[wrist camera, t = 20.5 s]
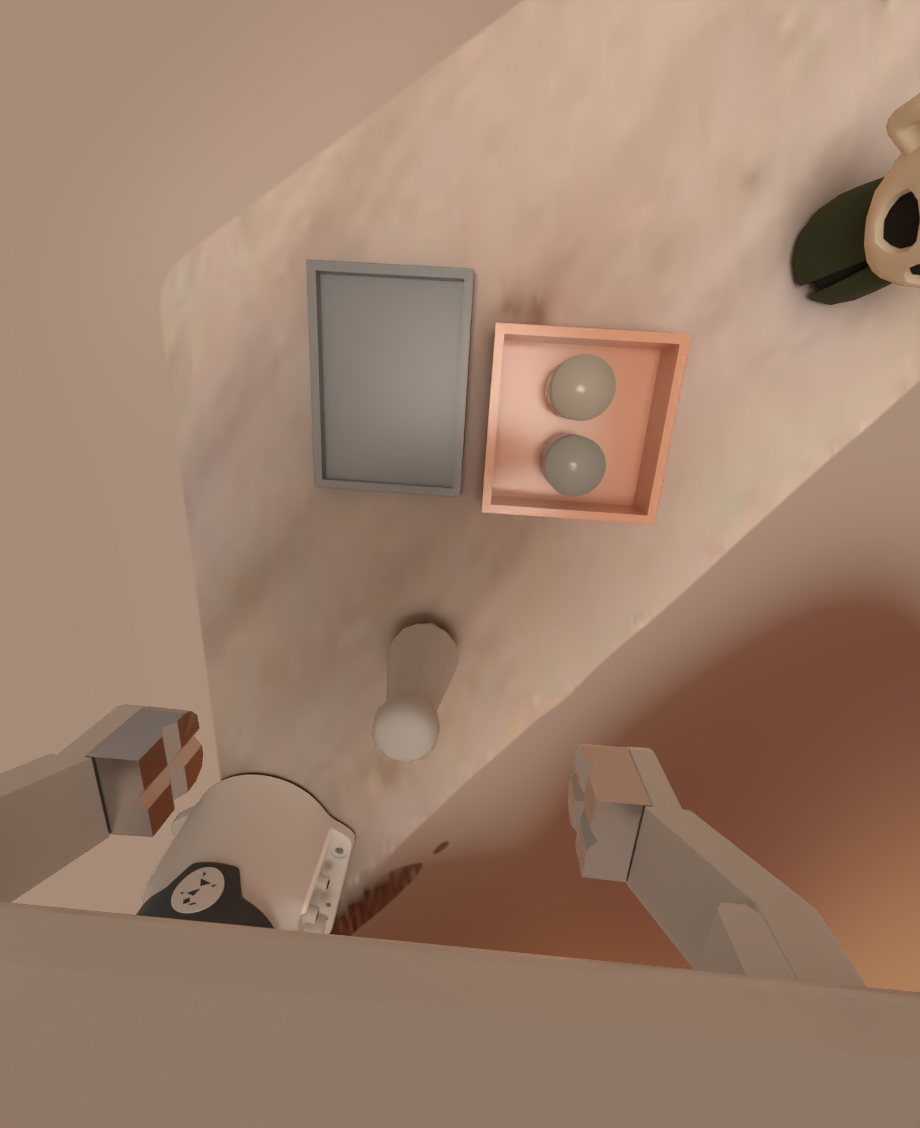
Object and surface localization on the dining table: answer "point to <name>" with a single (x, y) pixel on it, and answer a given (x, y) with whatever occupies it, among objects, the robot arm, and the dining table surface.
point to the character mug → (869, 226)
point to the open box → (623, 430)
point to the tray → (389, 375)
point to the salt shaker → (414, 692)
